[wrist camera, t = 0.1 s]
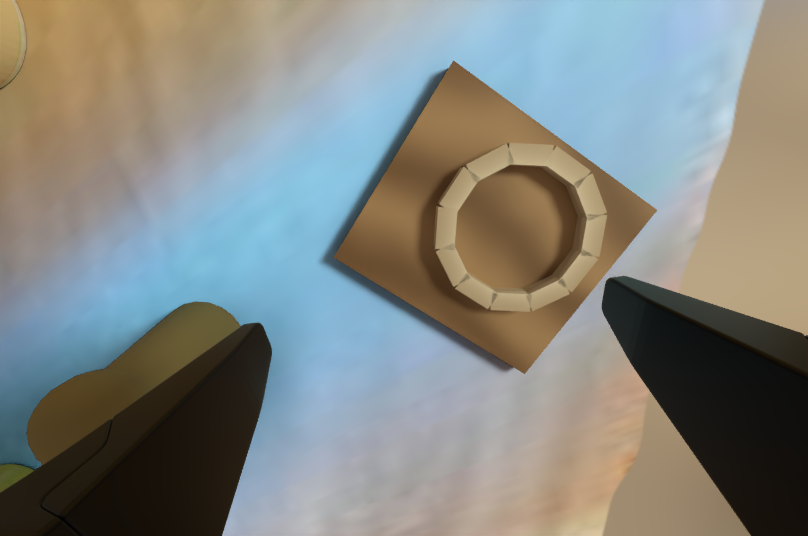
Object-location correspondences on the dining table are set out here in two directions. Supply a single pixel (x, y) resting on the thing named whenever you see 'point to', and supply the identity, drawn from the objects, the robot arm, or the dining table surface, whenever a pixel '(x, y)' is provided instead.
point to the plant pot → (12, 474)
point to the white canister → (11, 41)
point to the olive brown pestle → (125, 378)
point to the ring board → (491, 222)
